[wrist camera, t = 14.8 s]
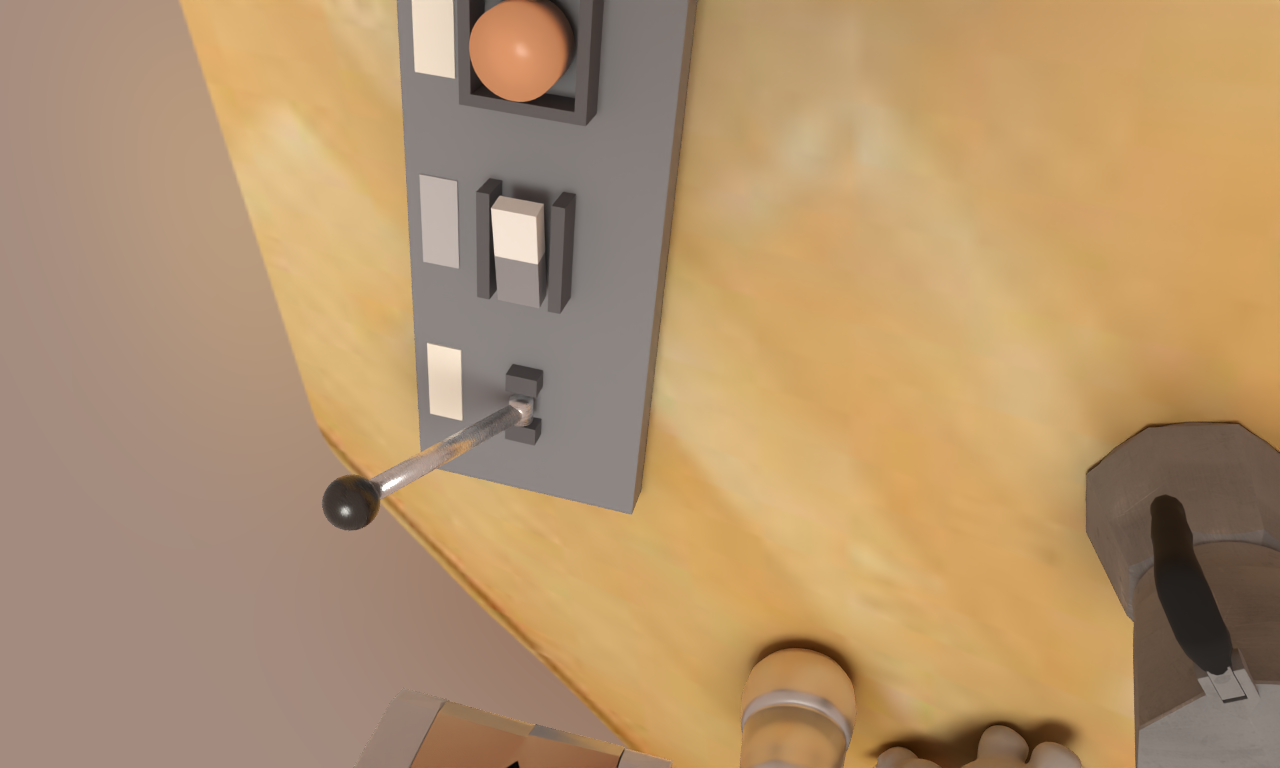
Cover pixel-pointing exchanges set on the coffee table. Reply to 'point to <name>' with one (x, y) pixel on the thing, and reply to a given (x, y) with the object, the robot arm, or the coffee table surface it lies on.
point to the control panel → (574, 240)
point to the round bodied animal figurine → (993, 754)
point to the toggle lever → (415, 467)
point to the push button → (521, 48)
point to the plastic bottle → (797, 712)
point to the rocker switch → (519, 251)
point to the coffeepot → (1196, 589)
